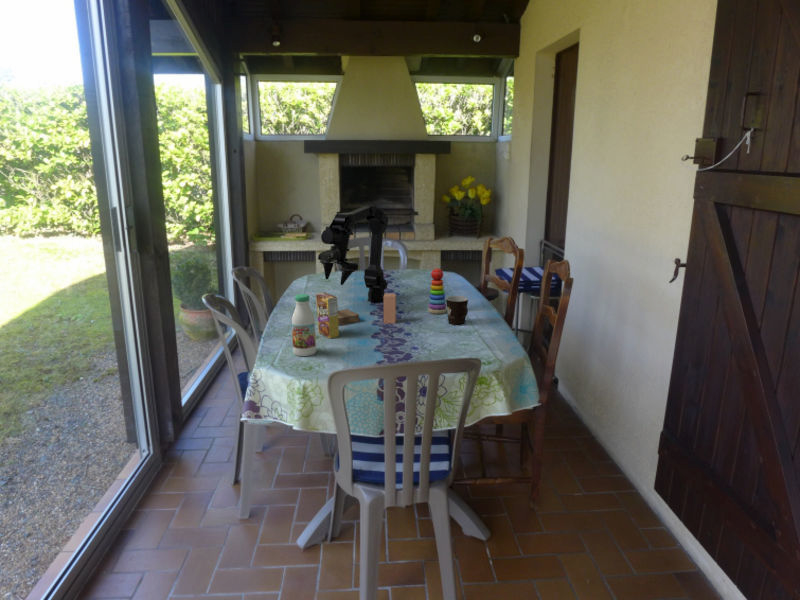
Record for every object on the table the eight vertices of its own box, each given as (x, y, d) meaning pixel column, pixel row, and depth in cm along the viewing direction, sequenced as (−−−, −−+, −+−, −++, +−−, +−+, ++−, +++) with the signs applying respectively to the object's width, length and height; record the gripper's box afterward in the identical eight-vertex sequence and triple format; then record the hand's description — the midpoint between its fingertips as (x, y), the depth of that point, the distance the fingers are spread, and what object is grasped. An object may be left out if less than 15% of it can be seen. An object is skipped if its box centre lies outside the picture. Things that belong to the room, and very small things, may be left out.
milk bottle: (294, 349, 191) (291, 292, 185) (317, 348, 191) (314, 292, 186) (292, 357, 183) (288, 298, 178) (315, 356, 184) (313, 298, 179)
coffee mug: (445, 319, 224) (445, 295, 221) (466, 319, 223) (467, 295, 221) (446, 328, 212) (447, 303, 210) (469, 328, 212) (469, 303, 210)
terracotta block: (385, 319, 224) (384, 293, 221) (396, 320, 224) (396, 293, 221) (383, 323, 220) (383, 296, 217) (395, 323, 219) (394, 296, 216)
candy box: (317, 333, 208) (315, 293, 204) (327, 330, 210) (325, 291, 206) (329, 339, 201) (327, 298, 197) (339, 336, 203) (338, 296, 200)
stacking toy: (448, 310, 237) (449, 267, 232) (444, 315, 230) (444, 271, 225) (431, 308, 240) (431, 266, 235) (425, 313, 232) (426, 269, 227)
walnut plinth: (347, 316, 229) (347, 309, 229) (359, 321, 221) (358, 314, 221) (325, 319, 224) (325, 312, 223) (336, 326, 216) (336, 318, 215)
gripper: (311, 238, 225) (304, 275, 227) (342, 248, 213) (334, 287, 216) (331, 240, 233) (324, 276, 236) (362, 250, 222) (355, 288, 224)
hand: (334, 282), depth 228 cm, fingers open, 9 cm apart
